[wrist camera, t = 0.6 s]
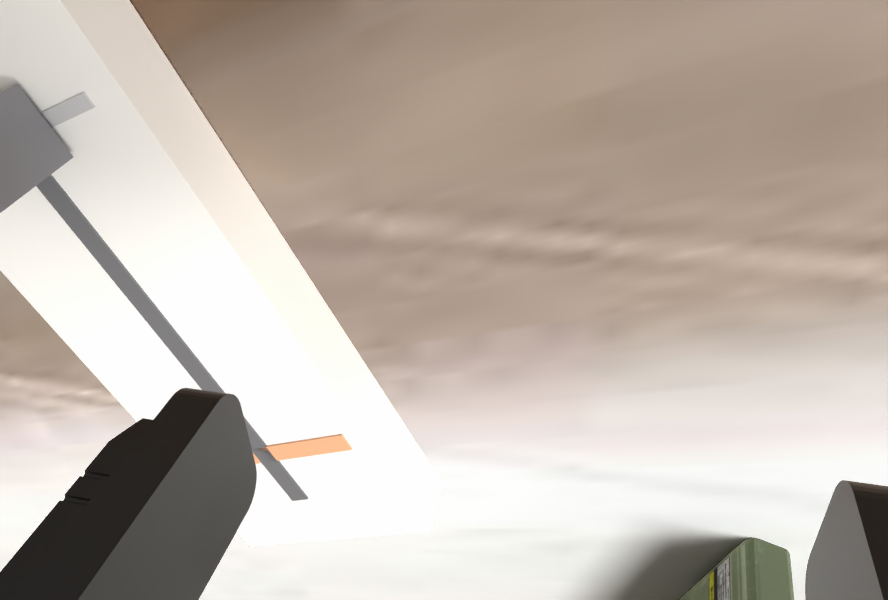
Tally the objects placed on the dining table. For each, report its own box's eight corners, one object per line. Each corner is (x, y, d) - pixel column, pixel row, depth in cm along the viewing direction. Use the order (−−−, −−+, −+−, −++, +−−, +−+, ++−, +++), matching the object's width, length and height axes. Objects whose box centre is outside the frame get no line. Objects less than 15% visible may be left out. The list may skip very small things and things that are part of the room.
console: (-117, 43, 31) (-182, 71, 29) (76, -82, 26) (16, -59, 23) (270, 504, 45) (248, 548, 43) (444, 484, 40) (429, 533, 38)
